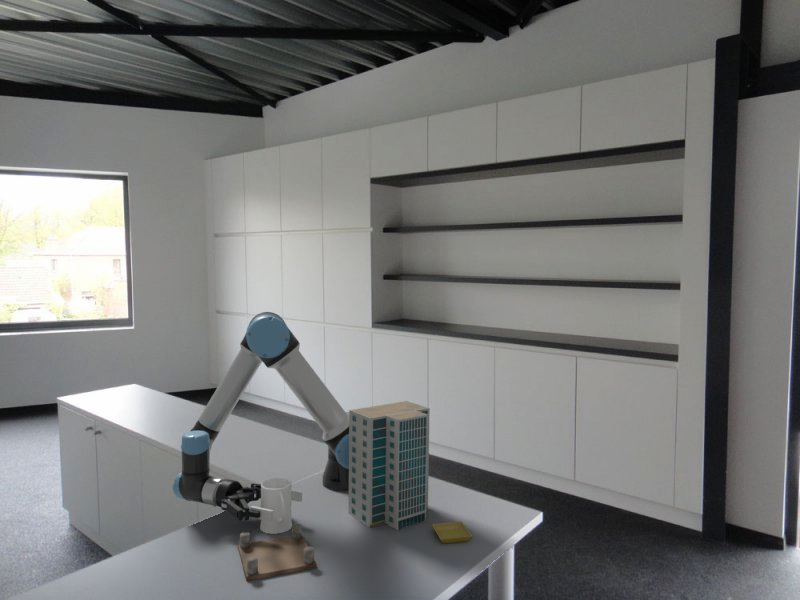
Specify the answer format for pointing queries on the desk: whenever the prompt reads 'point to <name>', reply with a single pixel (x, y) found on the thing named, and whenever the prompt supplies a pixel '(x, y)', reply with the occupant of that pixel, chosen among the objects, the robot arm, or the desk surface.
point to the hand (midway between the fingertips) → (287, 505)
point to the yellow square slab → (452, 532)
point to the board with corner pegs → (275, 555)
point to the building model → (389, 464)
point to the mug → (276, 505)
